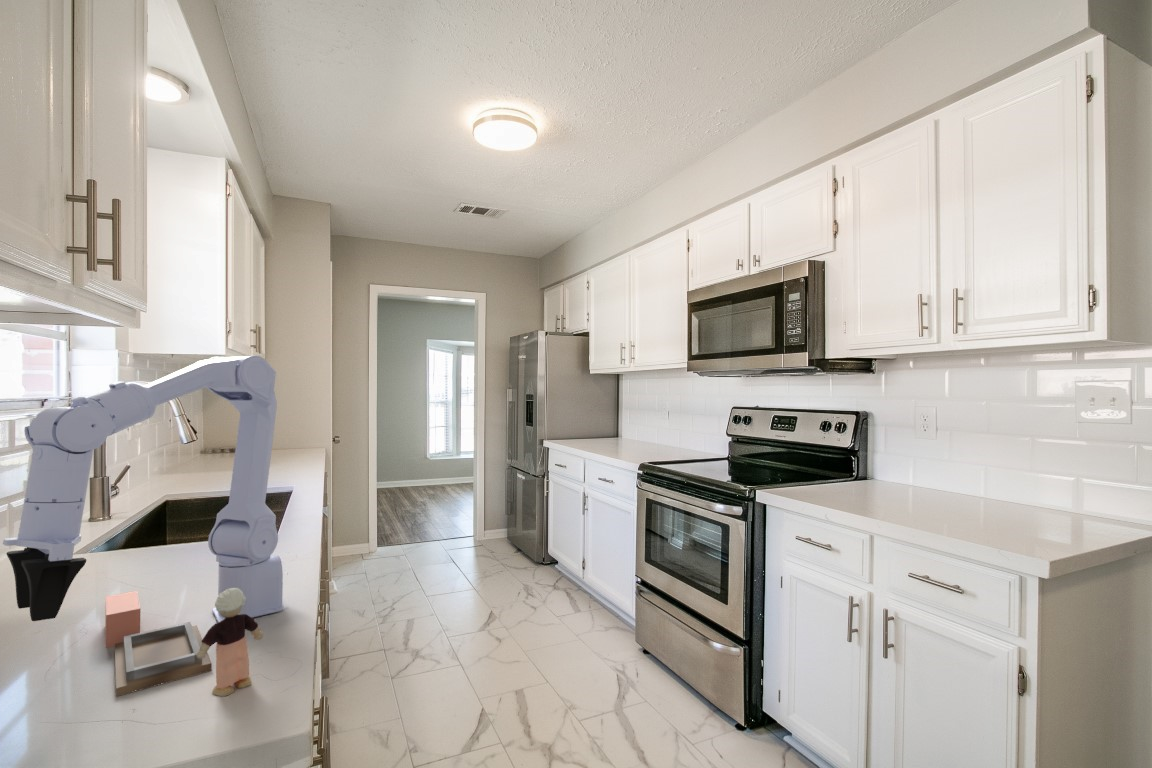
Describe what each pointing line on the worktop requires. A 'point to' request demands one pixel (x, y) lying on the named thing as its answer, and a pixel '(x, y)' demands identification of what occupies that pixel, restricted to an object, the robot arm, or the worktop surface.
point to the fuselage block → (121, 617)
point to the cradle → (158, 657)
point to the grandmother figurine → (230, 642)
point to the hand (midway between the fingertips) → (36, 612)
